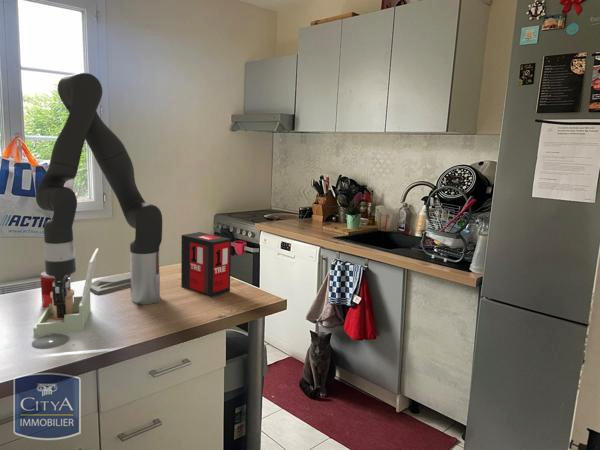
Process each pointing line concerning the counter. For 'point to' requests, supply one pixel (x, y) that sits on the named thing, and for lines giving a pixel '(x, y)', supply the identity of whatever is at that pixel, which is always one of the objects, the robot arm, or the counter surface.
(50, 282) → the canned food
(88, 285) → the glass lid
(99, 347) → the counter surface
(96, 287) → the soap mold
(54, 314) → the terracotta pot
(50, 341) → the slate saucer
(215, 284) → the cleaning product box
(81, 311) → the box
